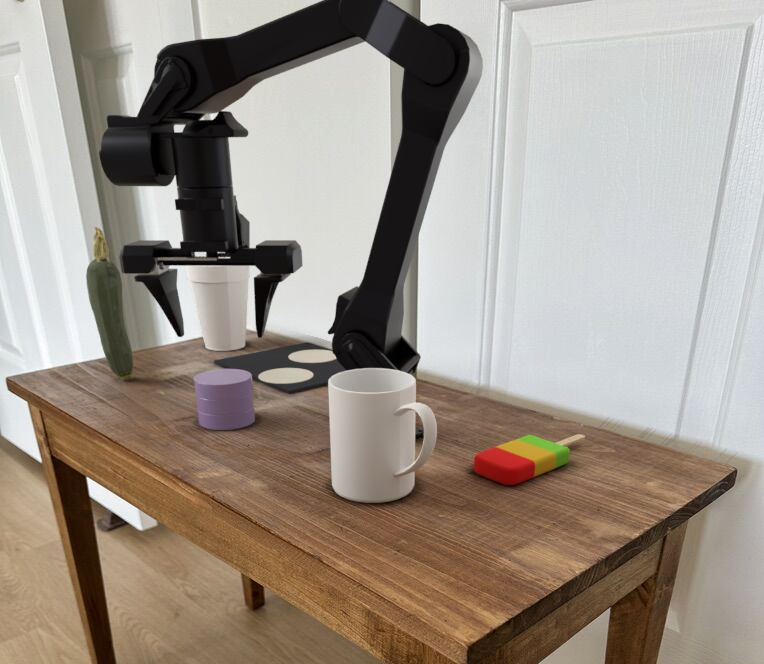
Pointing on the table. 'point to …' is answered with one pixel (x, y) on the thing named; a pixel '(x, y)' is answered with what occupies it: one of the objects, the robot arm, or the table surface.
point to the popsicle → (523, 459)
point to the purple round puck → (223, 384)
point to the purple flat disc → (226, 420)
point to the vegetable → (109, 308)
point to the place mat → (288, 366)
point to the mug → (376, 434)
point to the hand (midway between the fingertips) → (220, 336)
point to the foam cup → (221, 304)
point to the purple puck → (225, 405)
